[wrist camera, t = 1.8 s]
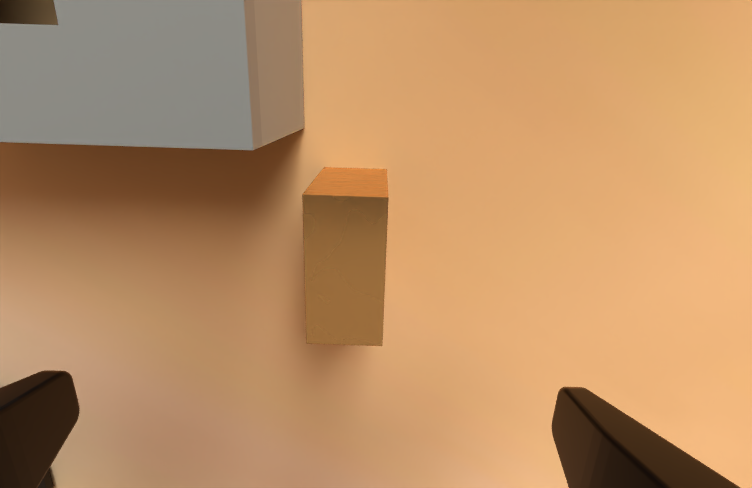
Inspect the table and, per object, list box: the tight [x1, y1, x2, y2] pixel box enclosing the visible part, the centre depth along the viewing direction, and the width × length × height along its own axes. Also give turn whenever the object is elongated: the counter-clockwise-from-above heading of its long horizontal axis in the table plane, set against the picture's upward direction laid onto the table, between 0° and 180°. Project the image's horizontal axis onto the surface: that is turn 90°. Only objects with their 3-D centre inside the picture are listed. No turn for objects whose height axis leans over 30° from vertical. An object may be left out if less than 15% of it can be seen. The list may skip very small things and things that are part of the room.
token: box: [302, 167, 388, 346], centre depth 16 cm, size 5×2×5 cm, turn 177°
